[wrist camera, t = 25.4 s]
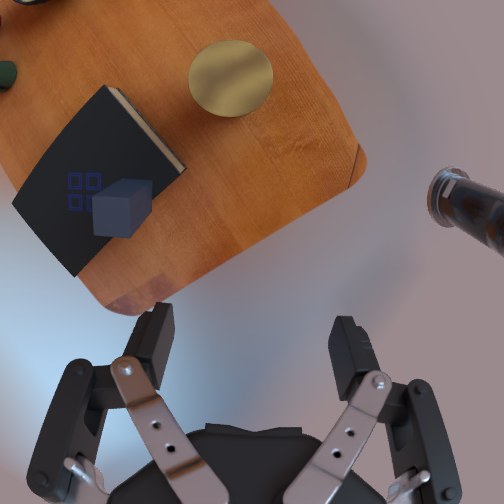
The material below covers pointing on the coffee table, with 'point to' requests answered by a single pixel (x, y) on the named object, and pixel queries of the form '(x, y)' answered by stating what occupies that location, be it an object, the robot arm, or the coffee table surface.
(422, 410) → the robot arm
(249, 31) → the coffee table surface
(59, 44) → the coffee table surface
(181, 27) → the coffee table surface
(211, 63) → the canister
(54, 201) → the book
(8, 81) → the character mug
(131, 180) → the block
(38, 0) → the bowl
